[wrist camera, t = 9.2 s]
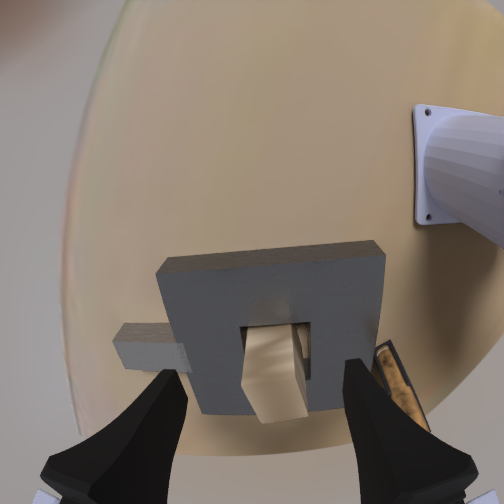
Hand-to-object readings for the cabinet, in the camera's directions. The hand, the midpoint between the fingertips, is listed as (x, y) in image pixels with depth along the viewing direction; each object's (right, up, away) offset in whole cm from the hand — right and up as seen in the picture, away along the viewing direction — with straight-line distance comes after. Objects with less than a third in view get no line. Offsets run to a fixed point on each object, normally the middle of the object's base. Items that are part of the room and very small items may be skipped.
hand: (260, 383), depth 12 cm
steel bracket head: (-1, -1, +11) cm, 11 cm away
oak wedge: (+1, 0, +10) cm, 10 cm away
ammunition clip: (+13, -6, +12) cm, 19 cm away
